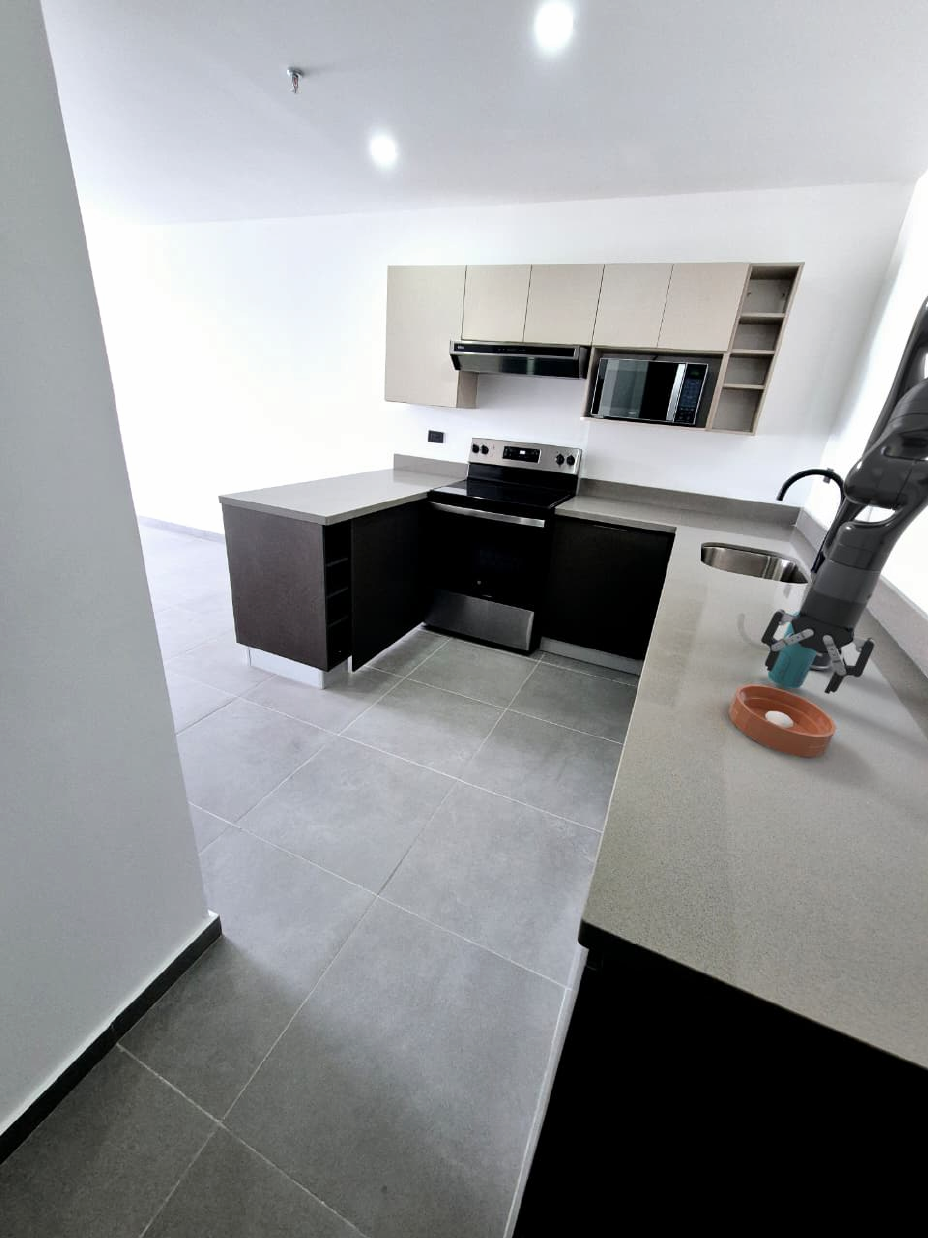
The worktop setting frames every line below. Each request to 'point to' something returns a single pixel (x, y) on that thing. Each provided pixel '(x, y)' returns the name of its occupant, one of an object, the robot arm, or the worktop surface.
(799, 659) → the beverage bottle
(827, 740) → the bowl
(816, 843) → the worktop surface
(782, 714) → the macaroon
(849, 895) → the worktop surface
